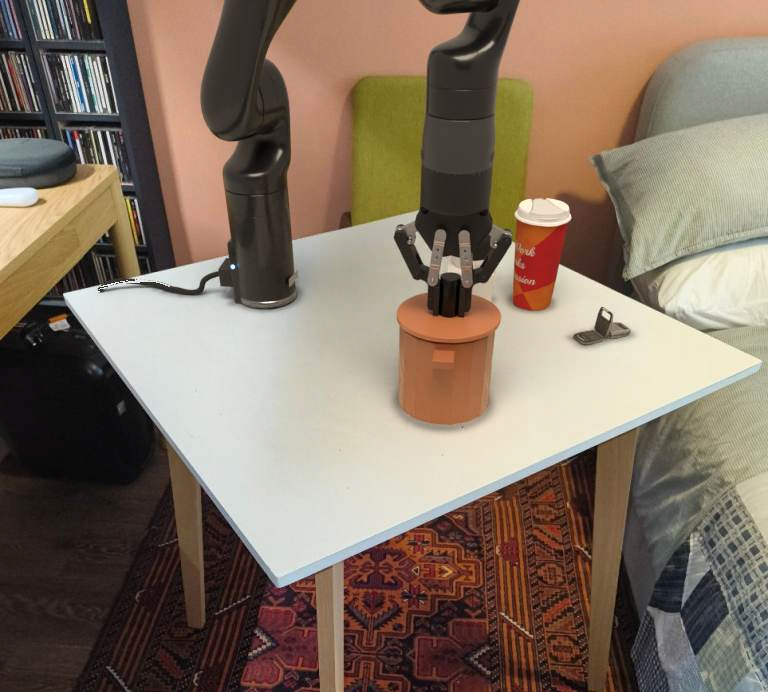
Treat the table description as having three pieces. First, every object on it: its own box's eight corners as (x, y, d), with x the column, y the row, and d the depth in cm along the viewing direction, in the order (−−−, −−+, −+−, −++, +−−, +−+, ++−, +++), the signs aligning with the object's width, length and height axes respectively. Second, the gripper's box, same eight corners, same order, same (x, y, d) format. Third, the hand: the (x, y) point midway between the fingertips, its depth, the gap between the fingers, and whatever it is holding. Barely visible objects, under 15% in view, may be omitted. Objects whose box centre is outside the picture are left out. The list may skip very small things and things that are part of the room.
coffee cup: (500, 292, 125) (510, 197, 115) (550, 290, 125) (564, 195, 115) (511, 315, 118) (522, 217, 108) (564, 313, 119) (580, 215, 109)
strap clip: (619, 326, 116) (624, 299, 113) (631, 335, 113) (637, 308, 111) (571, 337, 113) (576, 310, 110) (583, 346, 111) (588, 319, 108)
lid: (390, 344, 88) (391, 296, 84) (402, 297, 97) (402, 252, 94) (499, 350, 87) (504, 302, 83) (500, 302, 96) (505, 257, 92)
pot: (391, 437, 94) (392, 352, 86) (405, 367, 106) (407, 288, 99) (485, 443, 93) (494, 359, 85) (488, 372, 105) (496, 293, 98)
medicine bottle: (490, 298, 123) (497, 223, 115) (490, 319, 117) (498, 241, 110) (445, 296, 123) (449, 221, 116) (443, 316, 118) (447, 239, 110)
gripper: (524, 151, 82) (507, 302, 93) (395, 146, 84) (393, 296, 95) (525, 173, 77) (507, 331, 88) (386, 167, 78) (386, 324, 89)
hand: (448, 312), depth 91 cm, fingers closed on lid, 2 cm apart
